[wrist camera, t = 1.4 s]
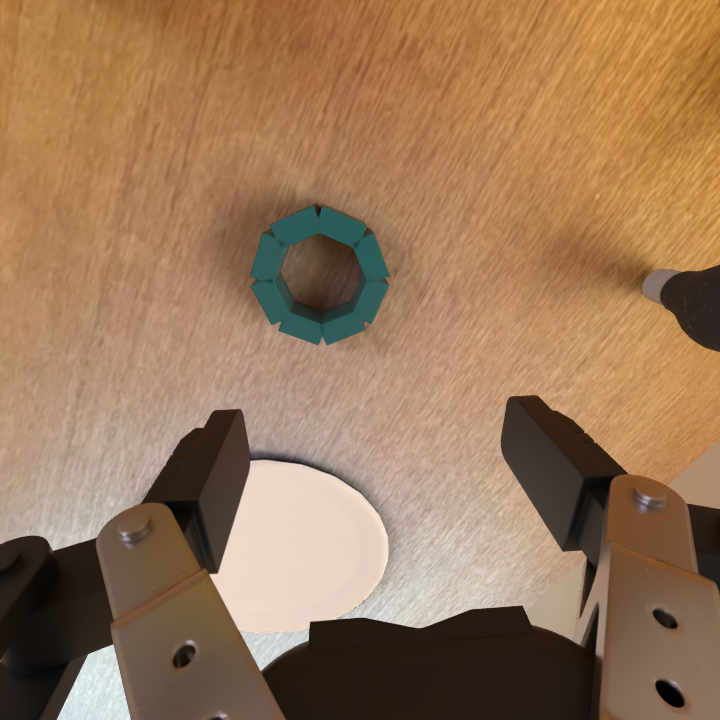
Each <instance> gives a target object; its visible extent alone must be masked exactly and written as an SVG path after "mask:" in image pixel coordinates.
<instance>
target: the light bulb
mask: <svg viewBox="0 0 720 720" xmlns="http://www.w3.org/2000/svg"><path fill="white" fill-rule="evenodd" d="M642 293H643V295H644V296H645V297H646V298H647V299H649V300H651V301H653V302H656V303H659V304H661V305H663V306H664V307H665V308H666V309H668V310H669V311H671V312H672V313H673V314H674V315H675V316H676V318H677V321H678V323H679V325H680V327H681V328H682V330H683V331H684V332H685V333H686V334H687V335H688V336H689V337H690V338H691V339H692V340H694V341H695V342H697V343H698V344H700V345H701V346H703V347H705V348H708V349H711V350H714V351H718V352H720V265H718V266H715V267H712V268H709V269H706V270H703V271H686V272H680V271H676V270H671V269H658V270H656V271H654V272H652V273H651V274H650V275H648V276H647V278H646V279H645V281H644V283H643V286H642Z"/></svg>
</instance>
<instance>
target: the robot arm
mask: <svg viewBox="0 0 720 720" xmlns="http://www.w3.org/2000/svg"><path fill="white" fill-rule="evenodd" d="M501 449H502V454H503V456H504V459H505V461H506V462H507V464H508V465H509V467H510V469H511V470H512V472H513V473H514V475H515V476H516V478H517V480H518V481H519V483H520V484H521V486H522V488H523V489H524V491H525V492H526V494H527V496H528V497H529V499H530V500H531V502H532V503H533V505H534V507H535V508H536V510H537V511H538V513H539V515H540V516H541V518H542V519H543V521H544V523H545V524H546V526H547V527H548V529H549V531H550V532H551V534H552V535H553V537H554V538H555V540H556V542H557V543H558V545H559V546H560V548H561V550H562V551H563V552H564V551H579V550H582V551H583V553H584V554H585V555H586V560H585V563H584V566H583V573H582V580H581V587H580V594H579V602H578V608H577V615H576V622H575V629H574V634H573V639H572V641H571V640H570V639H568V638H566V637H564V636H562V635H559V634H557V633H555V632H552V631H550V630H547V629H544V628H541V627H537V626H533V625H531V624H530V621H529V619H528V617H527V615H526V613H525V610H524V608H523V606H512V607H498V608H485V609H472V610H469V611H466V612H464V613H461V614H458V615H456V616H453V617H451V618H448V619H445V620H443V621H440V622H438V623H435V624H432V625H430V626H427V627H424V628H412V627H407V626H402V625H397V624H393V623H388V622H383V621H378V620H373V619H368V618H351V619H338V620H324V621H311V622H310V628H309V641H307V642H304V643H302V644H299V645H297V646H295V647H294V648H292V649H290V650H288V651H286V652H285V653H283V654H282V655H280V656H279V657H277V658H276V659H274V660H273V661H272V662H271V663H270V664H268V665H267V666H266V667H265V668H264V669H263V670H262V671H261V672H260V670H259V668H258V666H257V664H256V662H255V660H254V658H253V656H252V655H251V653H250V651H249V649H248V647H247V645H246V643H245V641H244V639H243V638H242V636H241V634H240V632H239V630H238V628H237V626H236V624H235V622H234V620H233V619H232V617H231V615H230V613H229V611H228V609H227V607H226V605H225V603H224V601H223V600H222V598H221V596H220V594H219V592H218V590H217V588H216V586H215V584H214V583H213V581H212V579H211V577H210V575H209V574H218V572H219V569H220V565H221V562H222V559H223V556H224V552H225V549H226V546H227V543H228V539H229V536H230V533H231V530H232V526H233V523H234V520H235V517H236V513H237V510H238V507H239V504H240V500H241V497H242V494H243V491H244V487H245V484H246V481H247V478H248V474H249V470H250V450H249V444H248V438H247V433H246V427H245V422H244V416H243V413H242V411H241V409H232V410H215V411H213V412H212V414H211V416H210V417H209V419H208V421H207V423H206V425H205V426H204V428H195V429H194V430H192V431H191V432H190V433H189V434H187V435H186V436H185V437H184V438H182V439H181V440H180V442H179V444H178V445H177V447H176V448H175V450H174V452H173V455H171V456H170V458H169V460H168V461H167V463H166V466H164V468H163V469H162V471H161V472H160V474H159V476H158V477H157V479H156V480H155V482H154V484H153V485H152V487H151V488H150V490H149V492H148V493H147V495H146V497H145V498H144V500H143V501H142V503H141V504H140V505H137V506H134V507H132V508H129V509H127V510H125V511H123V512H121V513H120V514H118V515H117V516H115V517H114V518H113V519H111V520H110V521H109V522H108V523H107V524H106V525H105V526H104V527H103V529H102V530H101V531H100V533H99V535H98V537H97V538H95V539H92V540H88V541H85V542H82V543H78V544H75V545H72V546H68V547H65V548H62V549H58V550H55V551H52V549H51V547H50V545H49V543H48V541H47V540H46V539H45V538H43V537H40V536H25V537H20V538H16V539H13V540H10V541H7V542H5V543H3V544H0V720H57V718H58V716H59V714H60V711H61V709H62V707H63V705H64V703H65V701H66V699H67V697H68V695H69V693H70V691H71V689H72V687H73V684H74V682H75V680H76V678H77V676H78V674H79V672H80V670H81V668H82V666H83V664H84V662H85V660H86V657H87V655H88V654H89V653H92V652H94V651H97V650H100V649H102V648H105V647H107V646H110V645H112V644H114V648H115V652H116V656H117V661H118V665H119V669H120V674H121V678H122V683H123V687H124V691H125V696H126V700H127V704H128V709H129V713H130V717H131V720H720V509H715V508H709V507H704V506H698V505H692V504H686V503H685V501H684V500H683V499H682V498H681V497H680V496H679V495H678V494H677V493H676V492H675V491H673V490H672V489H670V488H669V487H667V486H666V485H664V484H662V483H660V482H657V481H655V480H653V479H650V478H647V477H643V476H638V475H630V474H628V473H627V472H626V471H625V470H624V469H623V468H622V467H621V466H620V465H619V464H618V463H617V462H616V461H615V460H614V459H613V458H612V457H611V456H609V455H608V454H607V453H606V452H605V451H604V450H603V449H602V448H601V447H600V446H599V445H598V444H597V443H594V440H593V439H592V438H591V437H590V436H589V435H588V434H587V433H584V430H583V429H582V428H581V427H580V426H578V425H577V424H576V423H575V422H574V421H573V420H572V419H570V418H568V417H567V416H565V415H563V414H561V413H559V412H558V411H552V410H551V409H550V408H549V407H548V406H547V405H546V403H545V402H544V401H543V400H542V399H541V398H540V397H538V396H537V395H530V396H512V397H510V398H509V399H508V401H507V405H506V411H505V417H504V423H503V429H502V435H501Z"/></svg>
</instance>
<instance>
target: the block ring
mask: <svg viewBox="0 0 720 720" xmlns="http://www.w3.org/2000/svg"><path fill="white" fill-rule="evenodd" d="M270 228H271V229H269V230H267V231H265V232H264V233H263V234H262V237H261V240H260V244H259V247H258V250H257V253H256V257H255V260H254V263H253V267H252V270H251V273H250V277H252V278H254V279H256V281H255V282H254V283H253V284H252V285H251V288H252V290H253V291H254V293H255V295H256V297H257V299H258V301H259V303H260V304H261V306H262V308H263V310H264V312H265V314H266V316H267V317H268V319H269V321H270V323H271V325H273V324H276V323H278V322H280V321H282V322H281V325H280V327H279V331H280V332H283V333H286V334H289V335H291V336H294V337H297V338H300V339H302V340H305V341H308V342H311V343H313V344H316V345H319V343H320V341H321V338H322V336H323V338H324V340H325V342H326V344H327V345H329V344H332V343H334V342H337V341H339V340H342V339H344V338H347V337H349V336H352V335H354V334H356V333H359V332H361V331H364V330H365V325H364V321H365V322H368V323H371V324H372V322H373V320H374V318H375V316H376V313H377V311H378V309H379V307H380V305H381V302H382V300H383V298H384V296H385V294H386V291H387V289H388V287H389V284H388V282H387V281H386V279H385V278H386V277H389V272H388V270H387V267H386V264H385V261H384V259H383V256H382V253H381V251H380V248H379V245H378V242H377V240H376V237H375V234H374V233H373V232H372V231H371V229H368V230H366V228H367V225H366V224H365V223H364V222H363V221H361V220H359V219H356V218H354V217H352V216H350V215H347V214H345V213H343V212H341V211H339V210H336V209H334V208H332V207H330V206H327V205H325V204H324V205H323V206H322V209H321V212H320V214H319V211H318V209H317V207H316V205H315V204H314V205H312V206H310V207H307V208H305V209H303V210H301V211H299V212H296V213H294V214H292V215H290V216H287V217H285V218H283V219H281V220H278V221H276V222H274V223H272V224H270ZM318 233H320V234H322V235H325V236H327V237H329V238H332V239H334V240H336V241H339V242H341V243H343V244H346V245H348V246H350V247H353V250H354V252H355V255H356V257H357V260H358V262H359V265H360V267H361V270H362V272H363V274H362V276H361V278H360V281H359V283H358V286H357V288H356V290H355V293H354V295H353V297H352V300H351V301H349V302H346V303H344V304H341V305H339V306H337V307H334V308H332V309H329V310H327V311H324V312H322V311H319V310H317V309H314V308H312V307H309V306H306V305H304V304H301V303H299V302H296V301H294V299H293V297H292V295H291V293H290V291H289V289H288V287H287V285H286V283H285V281H284V279H283V277H282V275H281V273H280V272H281V269H282V266H283V263H284V260H285V257H286V254H287V251H288V248H289V246H290V245H293V244H295V243H297V242H299V241H302V240H304V239H306V238H309V237H311V236H313V235H315V234H318Z"/></svg>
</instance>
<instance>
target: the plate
mask: <svg viewBox="0 0 720 720" xmlns="http://www.w3.org/2000/svg"><path fill="white" fill-rule="evenodd" d="M388 559H389V556H388V534H387V532H386V530H385V527H384V525H383V522H382V520H381V517H380V515H379V513H378V511H377V510H376V509H375V508H374V507H373V506H372V505H371V503H370V502H369V501H368V500H367V499H366V498H365V497H364V495H363V494H362V493H361V492H360V491H358V490H357V489H355V488H354V487H352V486H351V485H349V484H347V483H346V482H344V481H343V480H341V479H340V478H338V477H337V476H335V475H333V474H330V473H327V472H325V471H322V470H319V469H316V468H313V467H311V466H308V465H305V464H302V463H295V462H288V461H280V460H273V459H253V460H250V470H249V474H248V478H247V481H246V484H245V487H244V491H243V494H242V497H241V500H240V504H239V507H238V510H237V513H236V517H235V520H234V523H233V526H232V530H231V533H230V536H229V539H228V543H227V546H226V549H225V552H224V556H223V559H222V562H221V565H220V569H219V572H218V574H209V575H210V577H211V579H212V581H213V583H214V584H215V586H216V588H217V590H218V592H219V594H220V596H221V598H222V600H223V601H224V603H225V605H226V607H227V609H228V611H229V613H230V615H231V617H232V619H233V620H234V622H235V624H236V626H237V628H238V630H239V631H240V632H252V633H267V634H271V633H282V632H293V631H299V630H303V629H307V628H310V622H311V621H324V620H334V619H336V618H338V617H340V616H342V615H344V614H346V613H348V612H349V611H350V610H352V609H353V608H354V607H356V606H357V605H358V604H360V603H361V602H362V601H363V600H365V599H366V598H367V597H368V596H369V595H370V593H371V592H372V591H373V589H374V588H375V587H376V585H377V584H378V583H379V582H380V580H381V579H382V576H383V573H384V570H385V567H386V564H387V562H388Z"/></svg>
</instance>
